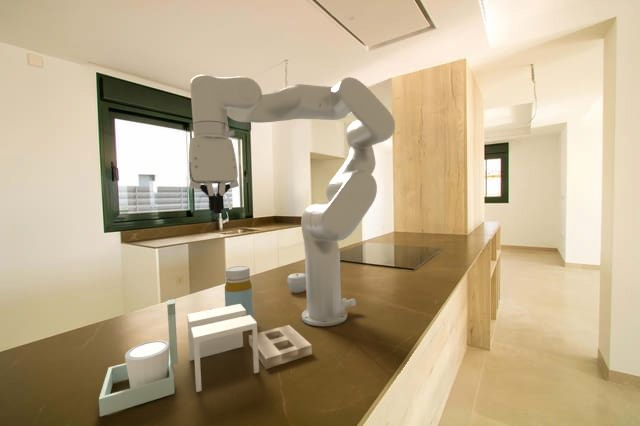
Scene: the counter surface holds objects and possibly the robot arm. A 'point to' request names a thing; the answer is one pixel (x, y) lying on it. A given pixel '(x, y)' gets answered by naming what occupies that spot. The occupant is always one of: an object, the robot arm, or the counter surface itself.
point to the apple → (297, 282)
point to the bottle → (239, 288)
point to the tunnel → (219, 334)
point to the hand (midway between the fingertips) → (216, 213)
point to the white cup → (147, 362)
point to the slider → (142, 392)
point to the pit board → (281, 346)
